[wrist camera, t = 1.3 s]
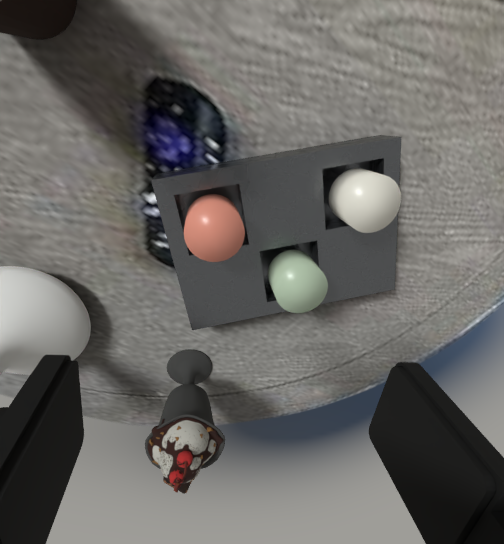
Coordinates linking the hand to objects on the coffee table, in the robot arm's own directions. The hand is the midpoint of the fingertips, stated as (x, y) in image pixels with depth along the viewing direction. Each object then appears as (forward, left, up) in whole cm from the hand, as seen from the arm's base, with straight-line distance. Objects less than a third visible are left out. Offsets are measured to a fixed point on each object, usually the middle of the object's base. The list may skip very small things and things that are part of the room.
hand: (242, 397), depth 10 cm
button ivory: (-12, 0, -19) cm, 23 cm away
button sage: (-6, +6, -19) cm, 21 cm away
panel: (-6, +3, -23) cm, 24 cm away
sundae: (+6, +17, -23) cm, 29 cm away
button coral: (0, 0, -19) cm, 19 cm away
